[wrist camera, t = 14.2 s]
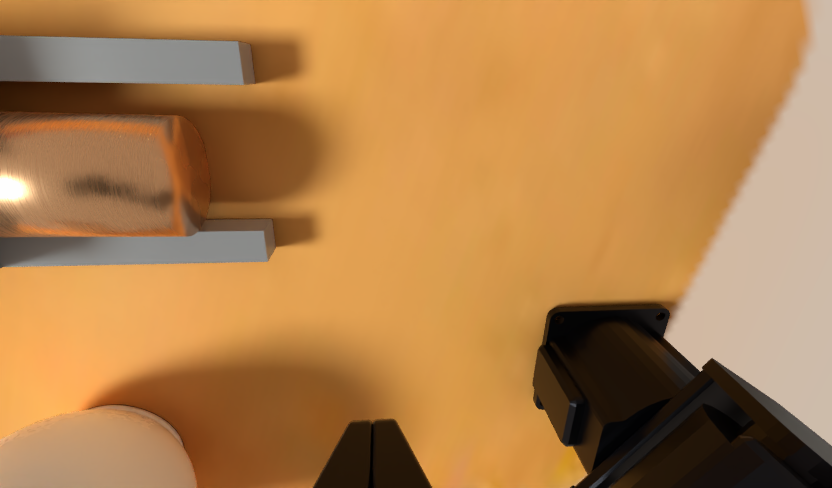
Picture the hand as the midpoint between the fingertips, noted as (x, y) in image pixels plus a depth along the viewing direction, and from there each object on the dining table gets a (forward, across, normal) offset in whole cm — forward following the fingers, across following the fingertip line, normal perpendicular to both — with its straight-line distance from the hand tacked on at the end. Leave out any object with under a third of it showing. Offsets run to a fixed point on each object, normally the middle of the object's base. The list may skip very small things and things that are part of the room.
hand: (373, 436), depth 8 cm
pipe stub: (+12, +11, -2) cm, 16 cm away
